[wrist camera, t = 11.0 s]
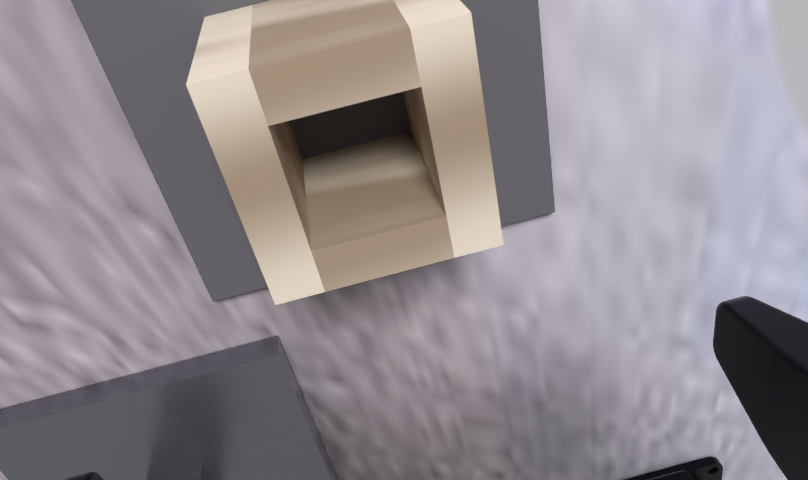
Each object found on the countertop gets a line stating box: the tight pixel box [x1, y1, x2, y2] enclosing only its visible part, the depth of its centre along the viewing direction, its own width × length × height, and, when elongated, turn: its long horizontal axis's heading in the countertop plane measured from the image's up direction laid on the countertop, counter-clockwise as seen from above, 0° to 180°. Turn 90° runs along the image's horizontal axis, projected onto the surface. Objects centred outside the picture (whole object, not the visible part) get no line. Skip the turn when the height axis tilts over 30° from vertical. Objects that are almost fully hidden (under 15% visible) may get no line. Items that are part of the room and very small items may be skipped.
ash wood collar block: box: [186, 0, 504, 305], centre depth 18 cm, size 6×6×5 cm
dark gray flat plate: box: [71, 0, 555, 302], centre depth 20 cm, size 12×12×1 cm
